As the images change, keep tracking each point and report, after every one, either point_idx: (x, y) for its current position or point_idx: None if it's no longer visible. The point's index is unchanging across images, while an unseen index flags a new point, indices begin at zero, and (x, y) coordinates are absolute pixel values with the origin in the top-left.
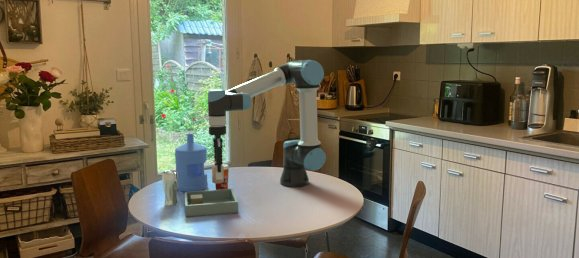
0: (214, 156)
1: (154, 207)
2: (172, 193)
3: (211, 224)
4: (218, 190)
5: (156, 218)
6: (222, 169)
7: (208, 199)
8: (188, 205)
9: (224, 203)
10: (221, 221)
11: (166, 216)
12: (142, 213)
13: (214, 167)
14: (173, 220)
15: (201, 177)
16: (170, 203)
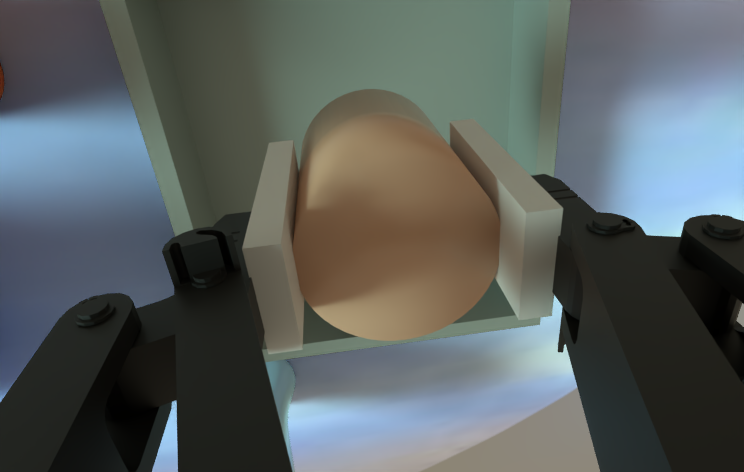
0: (146, 437)
1: (310, 438)
2: (286, 429)
3: (685, 127)
4: (159, 116)
5: (482, 400)
6: (456, 161)
7: (202, 178)
8: None
9: (562, 51)
10: (662, 61)
11: (466, 367)
12: (394, 462)
13: (464, 304)
14: (537, 329)
15: None
16: (293, 388)
